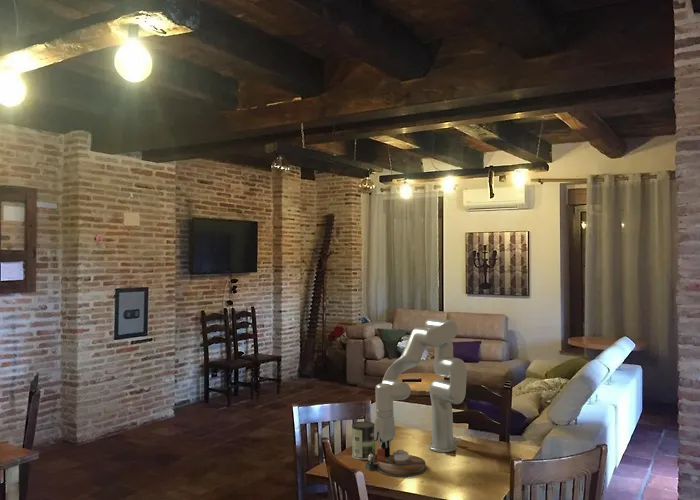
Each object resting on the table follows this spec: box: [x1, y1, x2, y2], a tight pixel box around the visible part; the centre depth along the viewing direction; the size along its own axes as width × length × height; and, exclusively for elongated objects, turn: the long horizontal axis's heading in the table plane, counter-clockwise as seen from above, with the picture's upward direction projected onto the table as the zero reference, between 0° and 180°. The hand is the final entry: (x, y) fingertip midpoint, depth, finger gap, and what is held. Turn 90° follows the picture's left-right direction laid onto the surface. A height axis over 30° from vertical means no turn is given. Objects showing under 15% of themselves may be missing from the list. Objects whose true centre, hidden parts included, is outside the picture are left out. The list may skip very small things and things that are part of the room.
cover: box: [392, 449, 409, 465], centre depth 243 cm, size 6×6×5 cm
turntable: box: [376, 448, 426, 476], centre depth 244 cm, size 20×20×7 cm
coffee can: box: [351, 421, 376, 461], centre depth 259 cm, size 10×10×14 cm
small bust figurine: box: [365, 454, 378, 471], centre depth 244 cm, size 4×3×6 cm
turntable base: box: [376, 463, 428, 478], centre depth 244 cm, size 21×21×1 cm
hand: (385, 456), depth 249 cm, fingers closed
